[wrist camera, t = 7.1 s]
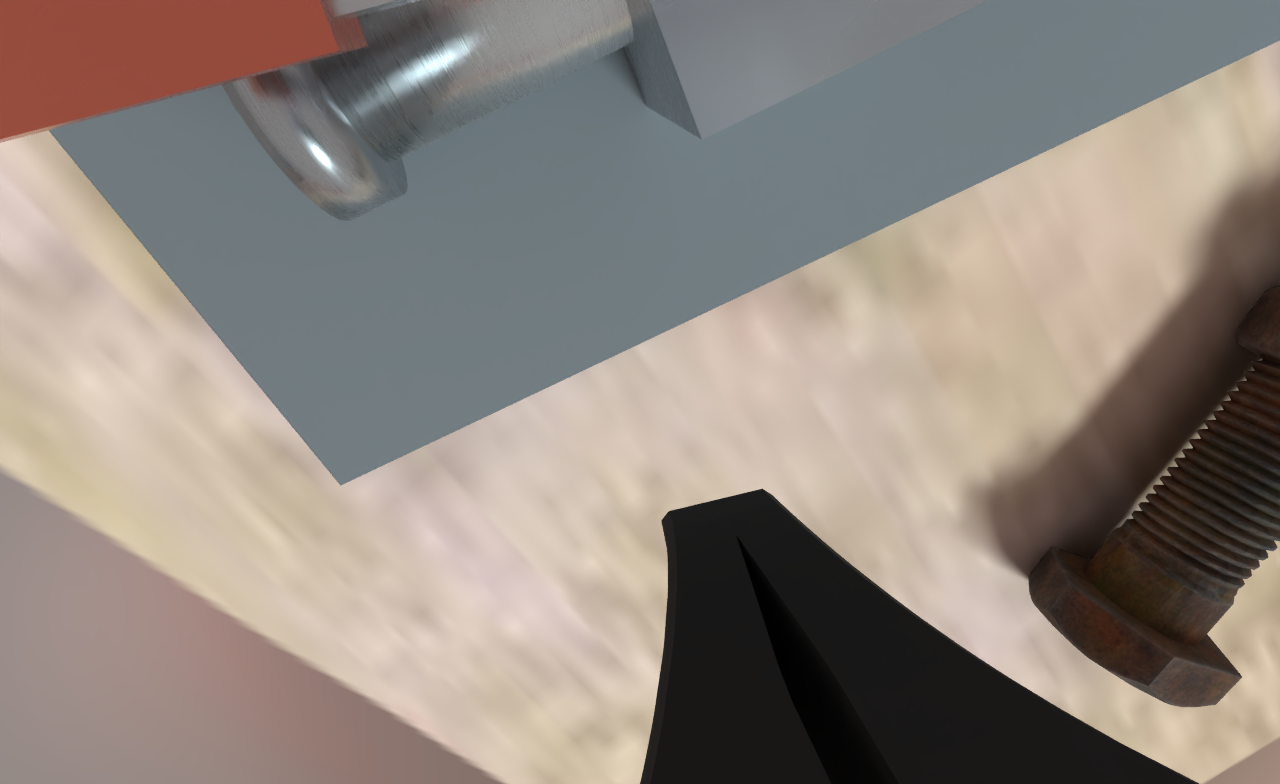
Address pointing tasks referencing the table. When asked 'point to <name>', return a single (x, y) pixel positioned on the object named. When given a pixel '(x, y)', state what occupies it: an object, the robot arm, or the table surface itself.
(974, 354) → the table surface
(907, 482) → the table surface
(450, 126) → the valve manifold
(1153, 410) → the table surface
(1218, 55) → the mounting plate
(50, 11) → the valve lever
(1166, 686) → the bolt
